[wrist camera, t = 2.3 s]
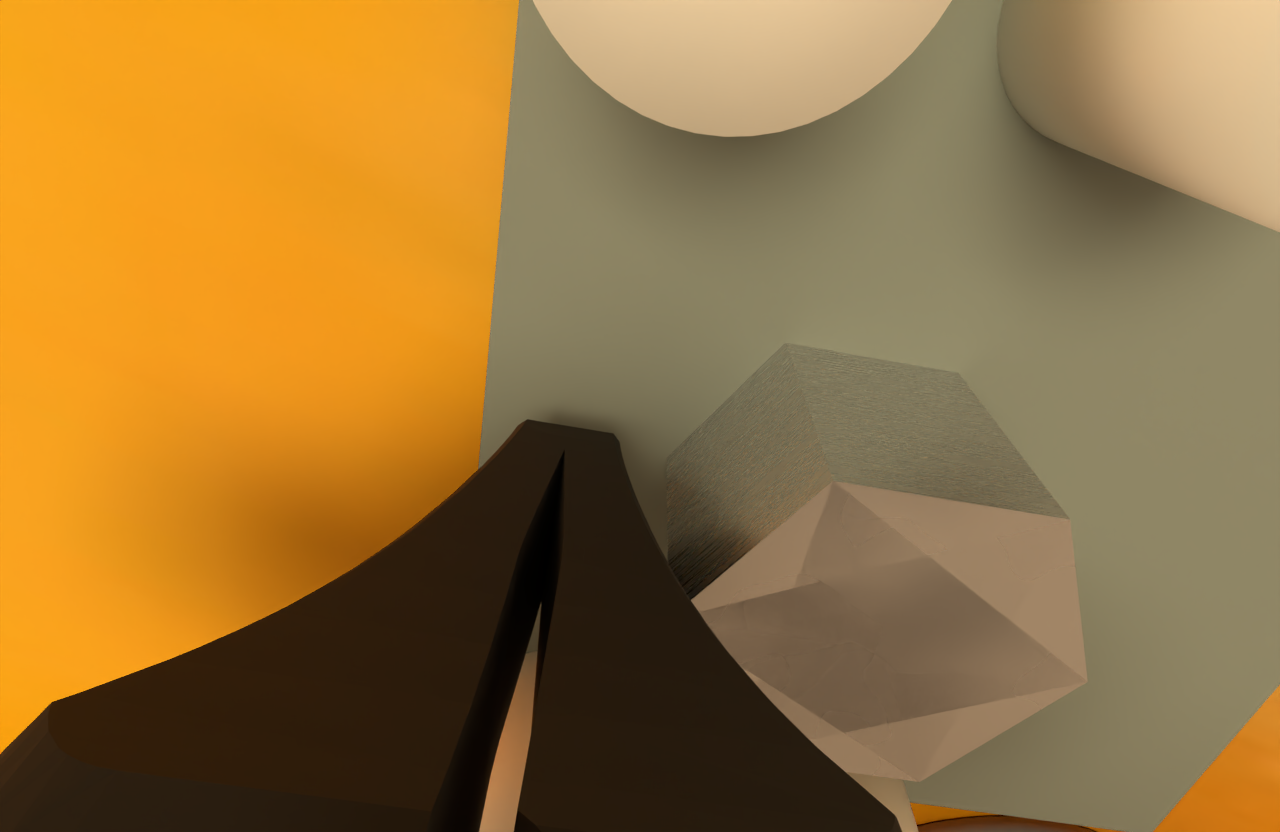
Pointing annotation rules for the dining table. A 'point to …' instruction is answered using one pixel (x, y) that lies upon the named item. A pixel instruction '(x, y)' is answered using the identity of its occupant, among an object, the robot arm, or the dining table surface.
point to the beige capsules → (1033, 80)
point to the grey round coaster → (999, 825)
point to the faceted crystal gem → (876, 559)
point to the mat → (936, 362)
